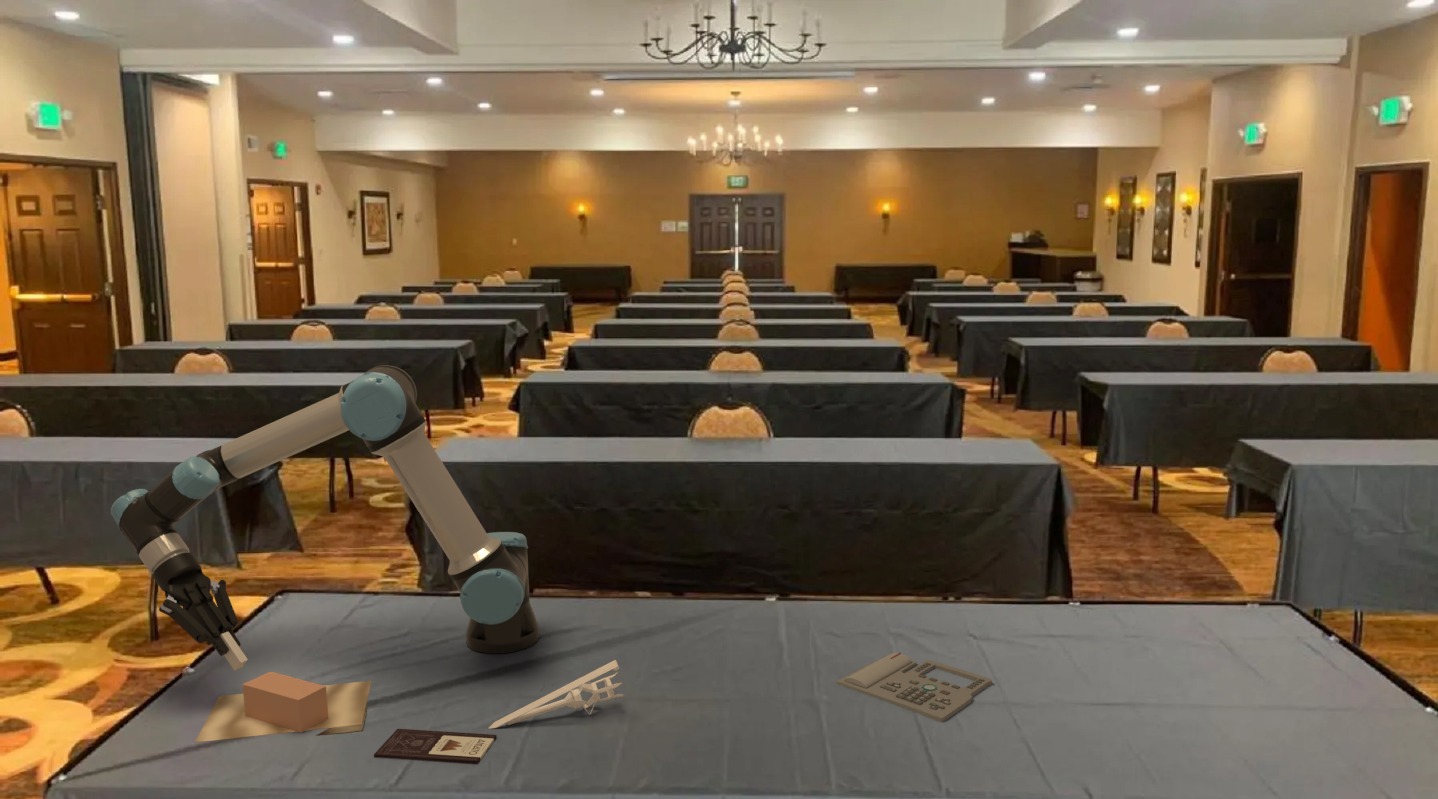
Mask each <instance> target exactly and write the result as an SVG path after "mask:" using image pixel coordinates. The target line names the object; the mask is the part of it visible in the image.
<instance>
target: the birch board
mask: <svg viewBox="0 0 1438 799" xmlns="http://www.w3.org/2000/svg"><path fill="white" fill-rule="evenodd" d="M372 682H373V681H372V680H367V681H366V680H365V681H355V682H347V683H345V682H344V683H337V684H334V683H333V684H326V685H323V686H326V694H327V706H328V719H326V720H324V721H322V722H320V723H318V724H317V725H315V726H313V727H311V728H309V729H307V730H305V731H304V732H306V731H313V730H314V731H315V730H323V731H321V732H320V733H318V734H316V735H315V736H327V735H334V734H343V733H344V734H346V733H353V732H362V731H363V729H364V723H365V720H366V716H367V711H368V707H367V703H368V699H369V695H370V690H371V686H372ZM324 729H325V730H324ZM296 732H297V731H294V730H290V729H287V728H284V727H280V726H277V725H274V724H270V723H267V722H264V721H260V720H257V719H254V718H251V717H247V716H245V706H244V695H243V693H236V694H226V695H225V694H224V695H219V696H218V698H217V700H216V702H215V703H214V706H213V707H212V709H211V711H210V713H209V715H208V717H207V718H206V720H205V723H204V724H203V727H202V728H201V729H200V731H199V733H198V735H197V736H196V738H195V740H194V743H196V744H197V743H203V742H213V741H221V740H232V739H233V740H234V739H242V738H249V737H258V736H260V737H261V736H268V735H277V734H279V735H280V734H285V733H296Z"/></svg>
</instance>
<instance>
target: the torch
mask: <svg viewBox="0 0 1438 799" xmlns="http://www.w3.org/2000/svg"><path fill="white" fill-rule="evenodd" d="M612 670H613V672H615V673H614V674H612V675H609V676H606V677H603V678H601V679H599V680H595V681H593V682H591V681H592V680H594V679H596V678H598V677H600V676H603V675H604V674H606V673H608V672H609V671H610V672H611V671H612ZM618 670H620V666H619V664H618V661H617V660H616V659H614V660H612V661H611V662H608V663H607V664H605V665H603V666H600V667H599V668H596V669H594V670H593V671H591V672H589V673H587V674H584V676H581V677H578V678H577V679H576V680H573V681H571V682H570V683H567V684H566V685H564V686H562V687H559V688H558V689H556V690H554V691H551V692H550V693H548V694H546V695H544V696H542V697H540V698H538V699H537V700H534V701H532V702H531V703H529V704H526V705H525V706H523V707H521V708H519V709H517V710H515V711H514V712H511V713H510V714H507V715H505V716H503V717H501V718H500V719H497V720H496V721H494V722H493V723H492V724H491V725H490V726H488V730H489V729H491V730H492V729H497V728H499V727H501V726H503V725H507V726H510V725H513V724H516V723H519V722H522V721H525V720H529V719H531V718H534V717H537V716H540V715H543V714H546V713H549V712H553V711H555V710H558V709H561V708H564V707H569V708H571V709H573V710H577V709H579V708H582V707H583V709H584V710H585V711H586V713H587V714H588V715H591V714H592V712H593V710H594V707H595V706H596V703H600V702H604V701H609V700H612V699H615V698H618V697H623V696H624V694H622V693H617V694H615V691H614V690H615V689H616V688H617V687H619V686H620V685H622V684H623V682H616V683H614V684H613V683H612V682H611V681H612V680H611V679H613V678H614V677H615V676H616V675H618ZM602 682H603V683H604V687H601V688H598V686H597V685H598V684H601V683H602ZM582 692H585V693H586V692H587V693H592V696H590V698H589V699H588V700H587V701H586V700H583V698H582V695H581V693H582ZM604 692H606V694H607V697H603V698H601V695H600V694H601V693H604ZM566 693H567V695H565V697H564V698H562V699H560V700H558V701H557V700H556V701H554V702H551V701H552V700H554V699H557V698H558V697H560V696H563V695H564V694H566ZM549 702H550V703H549ZM546 703H548V704H546ZM591 705H593V707H592V709H591V710H590V713H589V711H588V710H587V709H588V708H589V707H590V706H591ZM586 708H587V709H586Z"/></svg>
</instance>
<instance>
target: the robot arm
mask: <svg viewBox="0 0 1438 799" xmlns="http://www.w3.org/2000/svg"><path fill="white" fill-rule="evenodd" d="M417 392H418V391H417V387H416V384H415V381H414V380H413V379H412V376H410V375H409V373H408V372H406V371H405V370H403V369H401V368H400V367H398V366H394V365H388V364H385V365H377V366H374V367H371V368H370V369H367V370H366V371H365V372H364V373H362V374H361V375H358V377H356V378H355V379H354V380H352V381H349V382H347V383H346V384H343V385H341V387H340V389H339V392H338V393H335V394H332V395H331V396H329V397H327V398H324V399H322V400H320V401H317V402H315V403H312V404H310V405H309V406H306V407H304V408H301V409H299V410H297V411H295V412H293V413H290V414H288V415H286V416H284V417H282V418H280V419H279V418H278V419H277V420H275V421H273V422H269V423H268V424H265V425H264V426H262V427H260V428H257V429H255V430H252V431H250V432H249V433H246V434H243V435H241V436H239V437H237V438H235V439H232V440H229V441H227V442H225V443H223V444H222V445H219V446H217V447H215V448H211V449H207V450H205V451H202V452H200V453H198V454H197V455H195V456H190V457H188V458H186V459H185V460H184V461H182V462H180V463H179V464H178V465H176V466H175V467H174V468H173V470H172V471H170V473H169V474H167V475H166V476H165V477H164V478H162V479H161V480H160V482H158V483H157V484H156V485H155V486H154V487H153V488H151V489H150V490H149V491H148V489H145V488H137V489H132V490H130V491H128V492H126V493H125V494H123V495H121V496H119V497H118V498H117V499H116V500H114V502H113V503H112V506H111V508H110V514H111V517H112V518H113V520H114V522H115V523H116V525H117V527H118V530H119V531H120V532H121V533H122V534H123V535H124V537H125V539H126V540H127V541H128V542H129V544H130V546H132V548H133V549H134V551H135V552H136V554H137V556H138V557H139V559H140V561H141V562H142V563H143V564H144V566H145V568H147V571H148V572H149V573H150V574H151V575H152V578H153V580H154V581H155V582H156V584H157V586H158V587H159V589H160V590H161V591H162V592H164V597H165V598H166V599H164V601H163V602H162V604H160V606H159V608H158V610H159V612H161V613H163V614H164V615H166V616H168V617H170V618H171V619H172V620H173V621H174V622H175V623H176V624H177V625H179V626H180V628H182V629H183V630H184V631H185V632H186V633H187V634H188V635H189V636H190V637H191V638H193V640H194V641H196V643H198V644H203V643H205V644H206V646H207V645H208V646H211V645H212V646H213V647H214V649H215V650H216V652H217V653H218V654H219V655H220V656H221V657H222V656H223V657H225V659H226V660H227V662H228V664H229V665H230V666H231V667H232V669H233V671H234V672H235V671H238V670H240V669H242V668H243V666H244V665H245V664H246V663H247V661H249V659H248V658H247V656H246V655H245V653H244V651H242V649H241V646H242V645H241V642H240V640H239V638H238V637H237V636H236V634H235V633H234V631H233V630H234V629H235V627H237V625H238V624H239V620H238V617H237V615H236V613H235V610H234V606H233V605H232V602H231V599H230V596H229V595H228V592H227V582H226V580H225V579H220V580H219V581H213V580H211V578H210V577H208V576H207V575H205V574H204V572H203V570H202V566H201V565H200V563H199V562H198V560H197V559H196V557H195V556H194V555H193V553H191V552H190V548H189V547H188V545H187V544H186V543H185V541H184V540H183V539H182V537H181V536H180V534H179V533H178V532H177V530H176V528H175V527H174V525H175V524H176V523H177V522H179V521H180V520H181V519H182V518H183V517H184V516H186V515H187V514H188V513H189V512H190V511H192V510H193V509H194V508H195V507H196V506H197V505H198V504H200V503H201V502H203V500H206V498H207V497H209V496H210V495H212V494H213V493H214V492H216V491H217V490H219V489H220V488H222V487H225V486H227V485H229V484H231V483H234V482H237V481H238V480H239V479H242V478H245V477H246V476H249V475H251V474H253V473H256V472H258V471H259V470H262V469H264V468H267V467H269V466H271V465H274V464H277V463H279V462H280V461H283V460H285V459H286V458H290V457H292V456H293V455H296V454H299V453H301V452H303V451H306V450H307V449H310V448H311V447H314V446H317V445H319V444H321V443H324V442H326V441H328V440H330V439H332V438H334V437H337V436H339V435H341V434H344V433H346V432H347V431H350V432H351V433H352V434H353V435H355V436H356V437H358V438H360V439H362V440H363V442H364V443H365V445H366V447H367V448H368V450H369V451H370V453H371V454H373V455H376V456H380V457H383V458H384V459H385V461H386V462H387V464H388V466H389V467H390V468H391V470H392V472H393V473H394V475H395V476H396V478H397V480H398V482H399V483H400V485H401V486H402V488H403V489H404V491H405V492H406V494H407V495H408V497H409V498H410V500H411V502H412V503H413V505H414V507H415V508H416V510H417V511H418V512H419V514H420V516H421V518H422V519H423V521H424V522H425V524H426V525H427V527H428V529H429V531H430V532H431V534H433V537H434V538H435V539H436V541H437V543H438V545H439V546H440V548H441V549H442V551H443V552H444V553H445V555H446V557H447V558H448V560H449V564H448V569H447V573H448V575H449V577H450V578H451V580H452V581H453V583H454V585H455V586H456V588H457V589H458V591H459V592H460V594H459V599H460V604H461V608H462V609H463V611H464V613H465V614H466V615H467V616H468V617H469V622H468V625H467V627H466V633H465V635H466V636H465V637H466V644H467V647H468V648H469V649H471V650H473V651H475V652H479V653H483V654H484V653H485V654H507V653H512V652H514V653H515V652H517V651H521V649H522V650H525V649H527V648H529V647H531V646H533V645H534V644H536V643H537V642H538V641H537V640H539V639H540V626H539V623H538V620H537V617H536V615H535V612H534V610H533V608H532V605H531V603H530V602H531V601H530V600H531V599H530V585H529V584H530V583H529V582H530V581H529V560H528V559H529V558H528V549H529V546H528V541H527V537H526V536H525V535H524V534H523V533H519V532H515V531H496V532H495V531H494V532H486V530H485V529H484V527H483V525H482V524H481V523H480V520H479V519H478V517H477V515H476V514H475V512H474V511H473V509H472V507H471V506H470V504H469V502H468V501H467V499H466V498H465V496H464V494H463V492H462V491H461V490H460V488H459V486H458V485H457V483H456V482H455V480H454V479H453V477H452V476H451V474H450V471H448V469H447V468H446V466H445V465H444V463H443V461H442V460H441V457H440V456H439V454H438V453H437V452H436V450H435V448H434V447H433V445H432V443H431V442H430V440H429V439H428V437H427V436H426V434H425V430H426V426H427V420H426V418H425V417H424V415H423V414H422V412H421V410H420V408H419V407H418V405H417V397H418V393H417ZM213 596H214V597H213ZM214 600H215V601H214ZM538 638H539V639H538ZM536 641H537V642H536ZM535 642H536V643H535ZM532 644H533V645H532ZM530 645H531V646H530ZM524 648H525V649H524Z"/></svg>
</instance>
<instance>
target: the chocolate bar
mask: <svg viewBox="0 0 1438 799" xmlns="http://www.w3.org/2000/svg"><path fill="white" fill-rule="evenodd" d="M496 740H497V734H491V733H490V734H488V733H486V734H485V733H473V732H460V731H459V732H457V731H444V730H443V731H440V730H425V729H424V730H423V729H412V728H411V729H409V728H408V729H407V728H397V729H396V730H394V732H393V733H392V734H391V735H390V736H389V738H388V739H386V740H385V742H384V743H383V744H382V745H381V746H380V747H379V748H378V749H377V750H376V752H375V753H374V754H373V758H379V759H380V758H381V759H394V760H411V761H424V762H438V763H439V762H440V763H451V764H452V763H453V764H455V763H456V764H469V765H478V764H480V761H481V760H482V759H483V757H484V756H485V754H486V753H487V752H488V750H489V749H490V748H491V746H492V745H493V743H494V742H495V741H496Z"/></svg>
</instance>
